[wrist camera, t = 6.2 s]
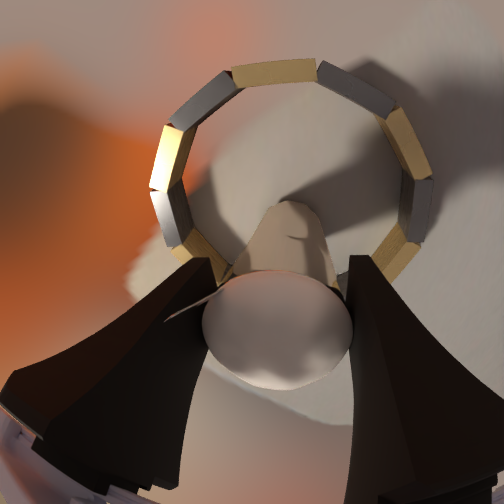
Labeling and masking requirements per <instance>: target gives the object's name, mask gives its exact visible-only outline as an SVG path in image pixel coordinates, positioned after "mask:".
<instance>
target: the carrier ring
mask: <svg viewBox="0 0 504 504" xmlns="http://www.w3.org/2000/svg"><path fill="white" fill-rule="evenodd" d="M231 69H232V71H225V70H224V71H222V72H221V73H220V74H219V75H217V76H216V77H215V78H214V79H213V80H211V81H210V82H209V83H208V84H207V85H205V86H204V87H203V88H202V89H201V90H199V91H198V92H197V93H196V94H195V95H194V96H193V97H192V98H190V99H189V100H188V101H187V102H186V103H185V104H184V105H183V106H182V107H180V108H179V109H178V110H177V111H176V112H175V113H174V114H173V115H172V116H171V117H170V118H169V121H170V122H171V123H168V124H166V125H165V126H164V130H163V133H162V137H161V140H160V145H159V149H158V152H157V156H156V160H155V165H154V169H153V173H152V177H151V182H150V187H153V188H154V189H153V190H152V191H151V192H150V194H151V198H152V201H153V204H154V207H155V211H156V214H157V217H158V220H159V224H160V227H161V230H162V233H163V236H164V239H165V242H166V245H167V247H173V248H172V250H171V251H170V252H171V253H172V254H173V255H174V256H175V257H176V258H177V259H178V260H179V261H180V262H181V263H182V264H185V263H186V262H187V261H189V260H190V259H191V258H193V257H209V258H210V261H211V265H212V269H213V272H214V276H215V279H216V283H217V287H218V286H219V285H220V283H221V282H222V280H223V279H224V277H225V276H226V274H227V273H228V271H229V270H230V268H231V267H232V265H229V264H227V262H226V261H225V260H224V259H223V258H222V257H221V256H220V255H219V254H218V253H217V252H216V250H215V249H214V248H213V247H212V246H211V245H210V244H209V243H208V242H207V241H206V239H205V238H204V237H203V236H202V235H201V234H200V233H199V232H198V231H197V230H196V228H195V227H194V224H193V220H192V217H191V213H190V209H189V205H188V201H187V197H186V193H185V189H184V185H183V181H182V175H183V172H184V168H185V165H186V162H187V158H188V155H189V152H190V149H191V146H192V142H193V140H194V137H195V133H196V130H197V128H198V125H200V124H201V123H202V122H203V121H204V120H206V119H207V118H208V117H209V116H210V115H212V114H213V113H214V112H215V111H216V110H218V109H219V108H220V107H221V106H223V105H224V104H225V103H226V102H228V101H229V100H230V99H231V98H233V97H234V96H236V95H237V94H238V93H239V92H241V91H242V90H243V89H245V88H246V87H253V86H261V85H271V84H281V83H296V82H316V83H318V84H320V85H322V86H324V87H326V88H328V89H330V90H332V91H334V92H336V93H338V94H340V95H341V96H343V97H345V98H347V99H349V100H351V101H352V102H354V103H356V104H358V105H360V106H361V107H363V108H365V109H366V110H368V111H370V112H371V113H373V114H374V116H375V117H376V119H377V121H378V122H379V124H380V126H381V128H382V129H383V131H384V133H385V135H386V137H387V138H388V140H389V142H390V144H391V146H392V148H393V150H394V152H395V154H396V156H397V158H398V160H399V162H400V164H401V166H402V182H401V194H400V204H399V214H398V222H397V223H396V225H395V226H394V227H393V229H392V230H391V231H390V233H389V234H388V236H387V237H386V238H385V240H384V241H383V242H382V244H381V245H380V246H379V248H378V249H377V250H376V251H375V253H374V254H373V255H372V257H371V258H372V260H373V261H374V262H375V264H376V265H377V267H378V268H379V269H380V271H381V272H382V273H383V275H384V276H385V278H386V279H387V280H388V282H389V283H390V284H391V283H392V282H393V281H394V280H395V278H396V277H397V276H398V275H399V274H400V273H401V271H402V270H403V269H404V268H405V267H406V266H407V264H408V263H409V262H410V261H411V260H412V258H413V257H414V256H415V255H416V253H417V252H418V251H419V250H420V248H421V246H420V244H419V243H418V242H424V239H425V234H426V228H427V223H428V217H429V211H430V205H431V198H432V190H433V182H434V180H433V179H432V178H431V177H430V176H429V175H431V174H433V173H432V170H431V168H430V165H429V163H428V161H427V158H426V156H425V154H424V151H423V149H422V147H421V145H420V143H419V141H418V138H417V136H416V134H415V132H414V130H413V128H412V126H411V124H410V122H409V120H408V118H407V117H406V115H405V113H404V111H403V109H402V107H399V106H396V105H395V103H396V101H395V100H393V99H392V98H390V97H389V96H387V95H385V94H384V93H382V92H381V91H379V90H377V89H376V88H374V87H372V86H371V85H369V84H367V83H366V82H364V81H362V80H360V79H359V78H357V77H355V76H353V75H351V74H350V73H348V72H346V71H344V70H342V69H340V68H338V67H336V66H334V65H332V64H330V63H328V62H326V61H322V62H321V64H320V66H319V68H318V70H317V71H316V63H315V59H296V60H282V61H271V62H262V63H255V64H248V65H241V66H235V67H231ZM337 278H338V281H339V284H340V287H341V290H342V293H343V296H344V300H346V291H347V281H348V271H347V272H345V273H343V274H341V275H339V276H337Z"/></svg>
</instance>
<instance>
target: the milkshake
mask: <svg viewBox="0 0 504 504" xmlns="http://www.w3.org/2000/svg"><path fill="white" fill-rule="evenodd" d="M208 300H209V301H208ZM206 301H208V303H207V305H206V307H205V309H204V312H203V316H202V330H203V335H204V338H205V341H206V343H207V345H208V348H209V349H210V351H211V353H212V354H213V356H214V357H215V358H216V359H217V360H218V361H219V362H220V364H221V365H222V366H223V367H224V368H226V369H227V370H228V371H229V372H231V373H232V374H234V375H235V376H237V377H239V378H240V379H242V380H244V381H246V382H247V383H250V384H252V385H254V386H257V387H261V388H266V389H275V390H292V389H297V388H300V387H302V386H304V385H307V384H309V383H312V382H314V381H317V380H319V379H321V378H323V377H324V376H326V375H327V374H328V373H330V372H331V371H332V370H333V369H334V368H335V367H336V366H337V364H338V363H339V362H340V361H341V360H342V358H343V357H344V355H345V354H346V352H347V350H348V349H349V347H350V344H351V342H352V338H353V325H352V320H351V317H350V314H349V312H348V309H347V306H346V303H345V300H344V296H343V293H342V290H341V287H340V284H339V281H338V278H337V275H336V272H335V269H334V266H333V263H332V259H331V256H330V252H329V249H328V246H327V242H326V239H325V236H324V233H323V230H322V227H321V223H320V220H319V218H318V217H317V216H316V215H315V214H314V213H313V211H312V210H311V209H310V208H309V207H308V206H307V205H306V204H303V203H298V202H293V201H289V200H285V201H283V202H281V203H278V204H276V205H274V206H271V207H269V208H268V210H267V211H266V213H265V215H264V216H263V218H262V220H261V222H260V223H259V225H258V227H257V228H256V230H255V232H254V234H253V235H252V237H251V239H250V240H249V242H248V244H247V245H246V247H245V248H244V250H243V251H242V252H241V254H240V255H239V257H238V258H237V259H236V261H235V262H234V264H233V265H232V267H231V268H230V270H229V271H228V273H227V274H226V276H225V277H224V279H223V280H222V282H221V283H220V285H219V286H218V288H217V289H216V291H215V292H214V293H213V294H211V295H209V296H207V297H205V298H203V299H201V300H199V301H197V302H196V303H194V304H192V305H190V306H188V307H186V308H184V309H182V310H180V311H178V312H176V313H175V314H173V315H171V316H170V317H169V318H168V319H166V320H165V321H164V322H163V324H166V323H168V322H170V321H172V320H173V319H175V318H177V317H179V316H181V315H183V314H184V313H186V312H188V311H190V310H192V309H194V308H195V307H197V306H199V305H201V304H203V303H205V302H206Z"/></svg>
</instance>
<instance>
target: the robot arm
mask: <svg viewBox="0 0 504 504" xmlns="http://www.w3.org/2000/svg"><path fill="white" fill-rule="evenodd" d="M217 288H218V287H217V283H216V279H215V276H214V272H213V269H212V265H211V261H210V258H209V257H193V258H191V259H190V260H189V261H187V262H186V263H185V264H183V265H182V266H181V267H180V268H179V269H177V270H176V271H175V272H174V273H173V274H171V275H170V276H169V277H168V278H167V279H166V280H164V281H163V282H162V283H161V284H160V285H158V286H157V287H156V288H155V289H154V290H153V291H151V292H150V293H149V294H148V295H147V296H145V297H144V298H143V299H142V300H140V301H139V302H138V303H136V304H135V305H134V306H133V307H132V308H130V309H129V310H128V311H127V312H125V313H124V314H122V315H121V316H120V317H118V318H117V319H116V320H114V321H113V322H111V323H110V324H108V325H107V326H106V327H104V328H102V329H101V330H99V331H98V332H96V333H95V334H93V335H91V336H90V337H88V338H86V339H84V340H83V341H81V342H79V343H77V344H76V345H74V346H72V347H70V348H68V349H66V350H65V351H62V352H60V353H58V354H56V355H54V356H52V357H50V358H47V359H45V360H43V361H41V362H38V363H35V364H32V365H30V366H27V367H24V368H21V369H18V370H15V371H13V373H12V374H11V375H10V377H9V378H8V380H7V382H6V383H5V385H4V387H3V388H2V390H1V392H0V405H1V406H2V407H3V408H4V409H5V410H6V411H7V412H9V413H10V414H11V415H12V416H13V417H14V418H15V419H16V420H18V421H19V422H20V423H21V424H23V425H21V424H20V423H19V422H17V421H16V420H15V419H14V418H12V417H11V416H10V415H9V414H8V413H7V412H5V411H4V410H3V409H2V408H1V407H0V491H1V493H2V495H3V496H4V498H5V500H6V502H7V504H106V502H108V503H110V504H159V503H156V502H154V501H151V500H149V499H146V498H144V497H141V496H139V495H137V492H138V489H139V488H142V489H144V490H147V491H150V489H151V486H152V484H153V485H155V486H158V487H161V488H164V489H167V490H172V489H174V488H176V487H177V486H178V484H179V471H180V461H181V454H182V446H183V440H184V434H185V429H186V424H187V419H188V414H189V409H190V405H191V400H192V396H193V391H194V388H195V385H196V382H197V379H198V376H199V374H200V371H201V368H202V365H203V363H204V360H205V357H206V354H207V352H208V349H209V348H208V345H207V343H206V341H205V338H204V335H203V330H202V316H203V312H204V309H205V307H206V305H207V303H208V301H209V300H208V301H206V302H205V303H203V304H201V305H199V306H197V307H195V308H194V309H192V310H190V311H188V312H186V313H184V314H183V315H181V316H179V317H177V318H175V319H173V320H172V321H170V322H168V323H166V324H163V322H164V321H165V320H166V319H168V318H169V317H170V316H171V315H173V314H175V313H176V312H178V311H180V310H182V309H184V308H186V307H188V306H190V305H192V304H194V303H196V302H197V301H199V300H201V299H203V298H205V297H207V296H209V295H211V294H213V293H214V292H215V291H216V289H217ZM345 303H346V306H347V309H348V312H349V314H350V317H351V320H352V325H353V338H352V342H351V344H350V347H349V355H350V363H351V371H352V380H353V392H354V415H353V436H352V448H351V458H350V467H349V475H348V482H347V488H346V493H345V499H344V504H504V485H502V486H500V487H498V488H497V489H496V490H495V491H494V492H492V487H493V486H496V485H497V483H498V479H497V473H499V472H501V471H503V470H504V399H502V398H501V397H500V396H498V395H497V394H496V393H495V392H493V391H492V390H491V389H490V388H488V387H487V386H486V385H485V384H483V383H482V382H481V381H480V380H479V379H477V378H476V377H475V376H474V375H473V374H472V373H471V372H469V371H468V370H467V369H466V368H465V367H464V366H463V365H462V364H461V363H460V362H459V361H458V360H456V359H455V358H454V357H453V356H452V355H451V354H450V353H449V352H448V351H447V350H446V349H445V348H444V347H443V346H442V345H441V344H440V343H439V342H438V341H437V340H436V339H435V337H434V336H433V335H432V334H431V333H430V332H429V331H428V330H427V329H426V328H425V327H424V325H423V324H422V323H421V322H420V321H419V319H418V318H417V317H416V316H415V315H414V314H413V312H412V311H411V310H410V309H409V307H408V306H407V305H406V304H405V302H404V301H403V300H402V299H401V297H400V296H399V295H398V293H397V292H396V291H395V290H394V288H393V287H392V286H391V284H390V283H389V282H388V280H387V279H386V278H385V276H384V275H383V273H382V272H381V271H380V269H379V268H378V267H377V265H376V264H375V262H374V261H373V260H372V258H371V257H370V256H369V255H350V258H349V270H348V281H347V291H346V300H345Z"/></svg>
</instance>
